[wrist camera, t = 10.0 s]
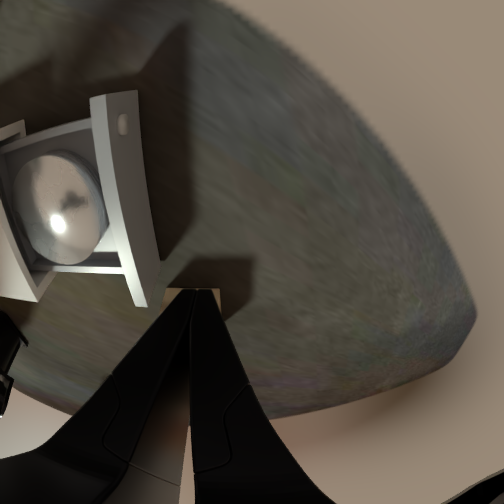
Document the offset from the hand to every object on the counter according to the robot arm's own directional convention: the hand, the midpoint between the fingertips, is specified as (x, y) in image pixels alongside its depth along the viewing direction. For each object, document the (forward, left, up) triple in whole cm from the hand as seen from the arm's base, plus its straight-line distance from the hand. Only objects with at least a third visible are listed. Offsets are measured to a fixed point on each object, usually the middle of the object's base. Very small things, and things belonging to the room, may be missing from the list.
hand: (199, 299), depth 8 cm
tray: (0, +10, -9) cm, 13 cm away
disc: (0, +10, -8) cm, 12 cm away
